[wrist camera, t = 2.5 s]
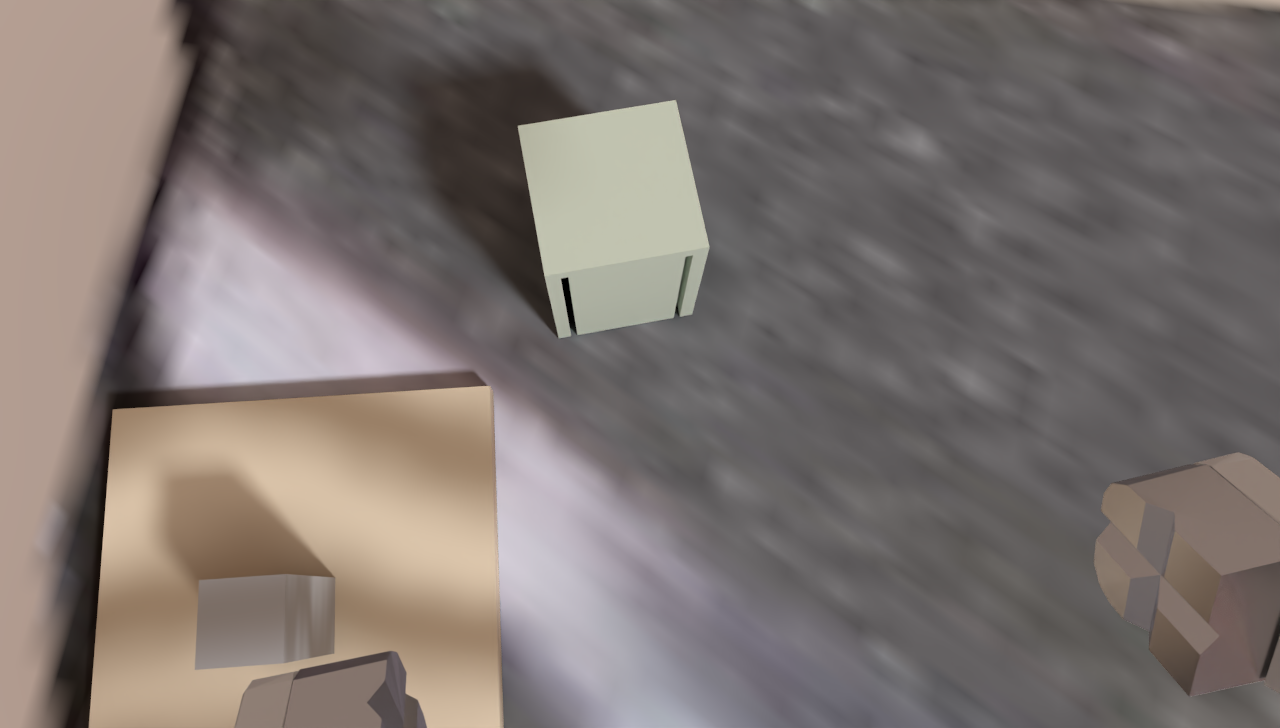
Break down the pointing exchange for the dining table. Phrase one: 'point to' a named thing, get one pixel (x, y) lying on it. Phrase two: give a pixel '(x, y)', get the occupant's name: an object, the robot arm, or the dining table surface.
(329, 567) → the post board
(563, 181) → the slotted sage cube
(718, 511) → the dining table surface
